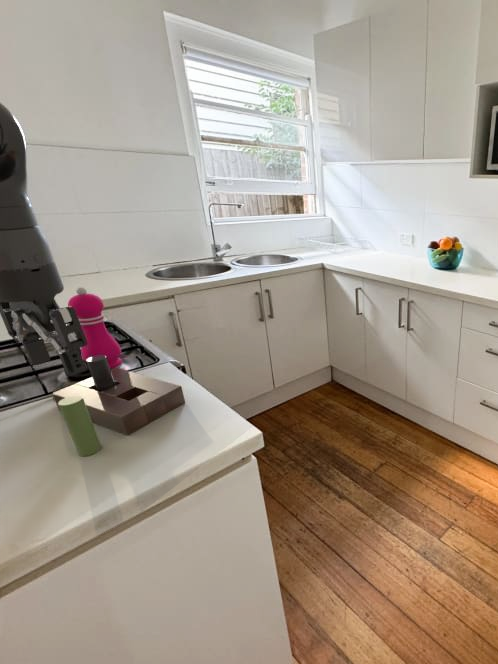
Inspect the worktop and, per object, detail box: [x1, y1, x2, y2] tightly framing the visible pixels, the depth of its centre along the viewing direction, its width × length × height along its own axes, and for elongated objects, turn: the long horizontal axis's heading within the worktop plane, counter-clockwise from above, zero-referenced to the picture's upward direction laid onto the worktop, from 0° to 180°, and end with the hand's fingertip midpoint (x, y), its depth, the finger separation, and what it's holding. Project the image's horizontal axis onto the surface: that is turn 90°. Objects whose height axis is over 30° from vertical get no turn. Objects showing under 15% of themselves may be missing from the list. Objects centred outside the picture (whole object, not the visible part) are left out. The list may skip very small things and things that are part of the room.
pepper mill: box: [67, 286, 123, 369], centre depth 86 cm, size 7×7×20 cm
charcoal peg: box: [85, 355, 115, 392], centre depth 75 cm, size 3×3×10 cm
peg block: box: [51, 367, 186, 436], centre depth 75 cm, size 12×20×4 cm, turn 69°
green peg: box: [58, 395, 102, 457], centre depth 62 cm, size 3×3×10 cm
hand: (59, 367), depth 58 cm, fingers open, 8 cm apart
